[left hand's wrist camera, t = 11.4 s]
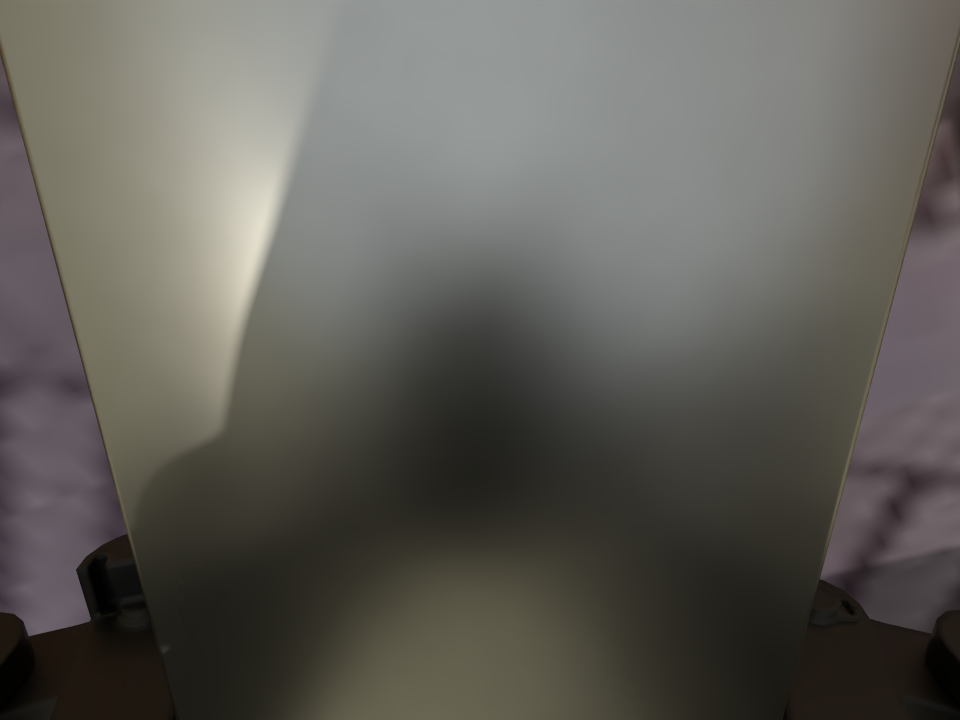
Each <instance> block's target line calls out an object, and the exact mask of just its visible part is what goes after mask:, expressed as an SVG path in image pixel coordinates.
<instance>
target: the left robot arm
mask: <svg viewBox="0 0 960 720" xmlns="http://www.w3.org/2000/svg"><path fill="white" fill-rule="evenodd" d="M76 571H77V574H78V578H79V581H80V584H81V587H82V591H83V594H84V597H85V600H86V604H87V607H88V610H89V613H90V617H91V620H90V622H86V623H83V624H80V625H76V626H72V627H67V628H63V629H59V630H54V631H50V632H46V633H41V634H37V635H33V636H28V633H27V631H26V628H25V625H24V622H23V621H22V620H21V619H20V618H18V617H17V616H16V615H15V614H10V613H2V612H0V720H176V716H175V712H174V709H173V705H172V701H171V697H170V693H169V690H168V686H167V682H166V678H165V675H164V671H163V667H162V663H161V659H160V656H159V652H158V648H157V644H156V641H155V637H154V633H153V629H152V625H151V622H150V618H149V614H148V610H147V607H146V603H145V599H144V595H143V591H142V588H141V584H140V580H139V576H138V572H137V569H136V565H135V561H134V557H133V554H132V550H131V546H130V542H129V538H128V535H127V534H126V535H123V536H121V537H118V538H116V539H114V540H112V541H110V542H108V543H105V544H103V545H102V546H100V547H99V548H98V549H96V550H95V551H93V552H92V553H91V554H89V555H88V556H86V558H85V559H84V560H83V562H82V563H81V564H80V565H79V567H78V568H77V569H76ZM783 720H960V610H954V611H946V612H945V613H944V614H942V615H941V616H940V617H939V618H937V621H936V624H935V626H934V629H933V632H932V634H929V633H925V632H921V631H916V630H912V629H908V628H903V627H899V626H895V625H890V624H886V623H882V622H878V621H875V620H872V619H869V617H868V616H867V614H866V613H865V611H864V610H863V608H862V607H861V605H860V604H859V603H858V602H857V601H855V600H854V599H853V598H852V597H850V596H849V595H848V594H847V593H846V592H844V591H843V590H841V589H839V588H837V587H835V586H833V585H831V584H829V583H827V582H825V581H823V580H819V583H818V587H817V591H816V595H815V598H814V602H813V606H812V610H811V614H810V617H809V621H808V625H807V629H806V633H805V636H804V640H803V644H802V648H801V652H800V655H799V659H798V663H797V667H796V671H795V674H794V678H793V682H792V686H791V690H790V693H789V697H788V701H787V705H786V709H785V712H784V716H783Z"/></svg>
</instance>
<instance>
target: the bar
mask: <svg viewBox="0 0 960 720" xmlns="http://www.w3.org/2000/svg"><path fill="white" fill-rule="evenodd" d="M959 47H960V0H0V55H1V59H2V62H3V66H4V70H5V74H6V77H7V81H8V85H9V89H10V93H11V96H12V100H13V104H14V108H15V111H16V115H17V119H18V123H19V127H20V130H21V134H22V138H23V142H24V146H25V149H26V153H27V157H28V161H29V164H30V168H31V172H32V176H33V180H34V183H35V187H36V191H37V195H38V198H39V202H40V206H41V210H42V214H43V217H44V221H45V225H46V229H47V232H48V236H49V240H50V244H51V248H52V251H53V255H54V259H55V263H56V266H57V270H58V274H59V278H60V282H61V285H62V289H63V293H64V297H65V300H66V304H67V308H68V312H69V316H70V319H71V323H72V327H73V331H74V334H75V338H76V342H77V346H78V350H79V353H80V357H81V361H82V365H83V368H84V372H85V376H86V380H87V384H88V387H89V391H90V395H91V399H92V402H93V406H94V410H95V414H96V418H97V421H98V425H99V429H100V433H101V436H102V440H103V444H104V448H105V452H106V455H107V459H108V463H109V467H110V470H111V474H112V478H113V482H114V486H115V489H116V493H117V497H118V501H119V504H120V508H121V512H122V516H123V520H124V523H125V527H126V531H127V535H128V538H129V542H130V546H131V550H132V554H133V557H134V561H135V565H136V569H137V572H138V576H139V580H140V584H141V588H142V591H143V595H144V599H145V603H146V607H147V610H148V614H149V618H150V622H151V625H152V629H153V633H154V637H155V641H156V644H157V648H158V652H159V656H160V659H161V663H162V667H163V671H164V675H165V678H166V682H167V686H168V690H169V693H170V697H171V701H172V705H173V709H174V712H175V716H176V720H783V716H784V712H785V709H786V705H787V701H788V697H789V693H790V690H791V686H792V682H793V678H794V674H795V671H796V667H797V663H798V659H799V655H800V652H801V648H802V644H803V640H804V636H805V633H806V629H807V625H808V621H809V617H810V614H811V610H812V606H813V602H814V598H815V595H816V591H817V587H818V583H819V579H820V576H821V572H822V568H823V564H824V560H825V557H826V553H827V549H828V545H829V541H830V538H831V534H832V530H833V526H834V522H835V519H836V515H837V511H838V507H839V503H840V500H841V496H842V492H843V488H844V484H845V481H846V477H847V473H848V469H849V465H850V462H851V458H852V454H853V450H854V446H855V443H856V439H857V435H858V431H859V427H860V424H861V420H862V416H863V412H864V408H865V405H866V401H867V397H868V393H869V389H870V386H871V382H872V378H873V374H874V370H875V367H876V363H877V359H878V355H879V351H880V348H881V344H882V340H883V336H884V332H885V329H886V325H887V321H888V317H889V313H890V310H891V306H892V302H893V298H894V294H895V290H896V287H897V283H898V279H899V275H900V271H901V268H902V264H903V260H904V256H905V252H906V249H907V245H908V241H909V237H910V233H911V230H912V226H913V222H914V218H915V214H916V211H917V207H918V203H919V199H920V195H921V192H922V188H923V184H924V180H925V176H926V173H927V169H928V165H929V161H930V157H931V154H932V150H933V146H934V142H935V138H936V135H937V131H938V127H939V123H940V119H941V116H942V112H943V108H944V104H945V100H946V97H947V93H948V89H949V85H950V81H951V78H952V74H953V70H954V66H955V62H956V59H957V55H958V51H959Z"/></svg>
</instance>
